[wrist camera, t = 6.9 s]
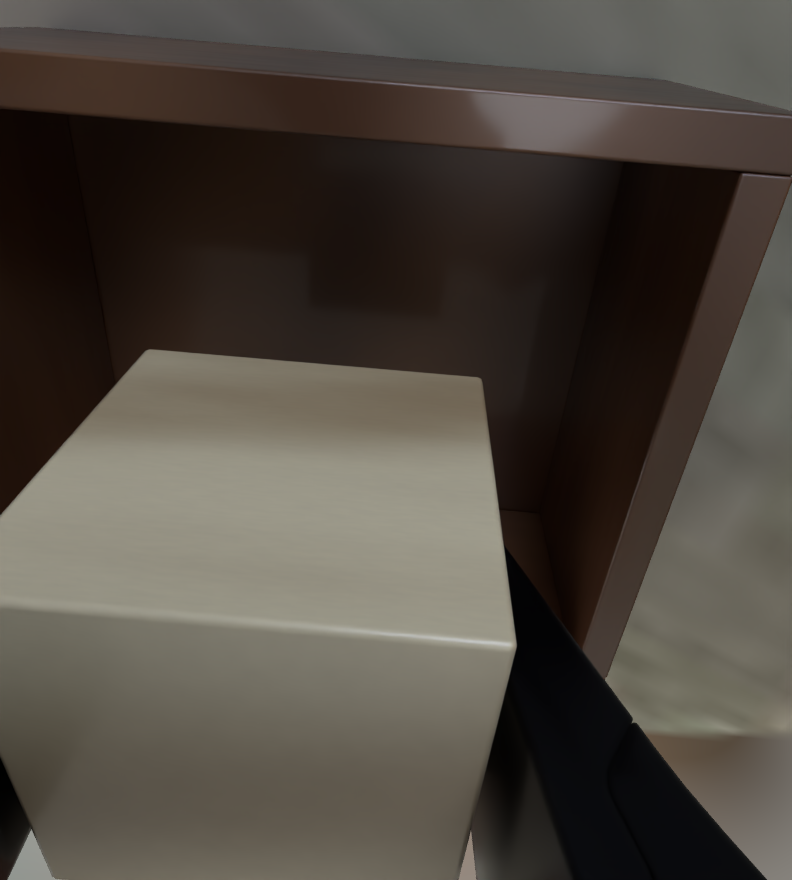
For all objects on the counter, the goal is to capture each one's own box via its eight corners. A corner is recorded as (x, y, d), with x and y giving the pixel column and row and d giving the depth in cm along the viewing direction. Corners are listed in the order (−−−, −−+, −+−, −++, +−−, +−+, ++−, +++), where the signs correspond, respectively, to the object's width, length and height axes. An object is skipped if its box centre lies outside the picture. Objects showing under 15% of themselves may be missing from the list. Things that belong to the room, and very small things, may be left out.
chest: (668, 80, 13) (818, 117, 8) (555, 517, 19) (599, 699, 14) (36, 27, 13) (-221, 28, 8) (121, 479, 20) (6, 646, 14)
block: (145, 346, 9) (-77, 594, 5) (483, 374, 9) (520, 646, 5) (181, 589, 11) (50, 881, 8) (445, 612, 11) (450, 917, 8)
